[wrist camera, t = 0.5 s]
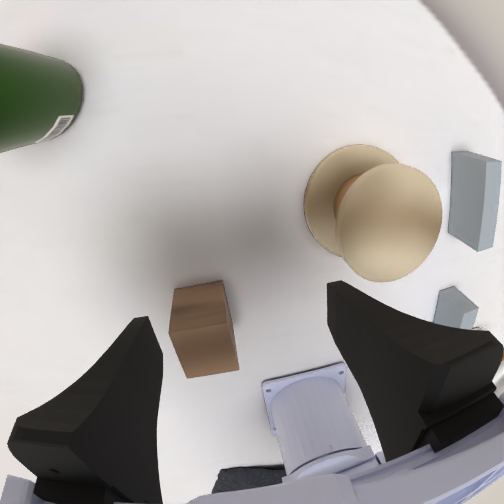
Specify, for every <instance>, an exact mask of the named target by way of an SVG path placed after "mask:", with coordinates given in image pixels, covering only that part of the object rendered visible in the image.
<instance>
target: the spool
mask: <svg viewBox="0 0 504 504" xmlns="http://www.w3.org/2000/svg"><path fill="white" fill-rule="evenodd" d="M304 212H305V218H306V221H307V225H308V227H309V229H310V231H311V233H312V234H313V236H314V237H315V238H316V239H317V241H318V242H319V243H320V244H321V245H322V246H323V247H324V248H325V249H326V250H328V251H329V252H331V253H333V254H335V255H337V256H340V257H343V259H344V260H345V261H346V263H347V264H348V265H349V266H350V267H351V269H352V270H353V271H354V272H355V273H357V274H358V275H359V276H361V277H362V278H364V279H367V280H369V281H373V282H390V281H394V280H397V279H400V278H402V277H404V276H406V275H408V274H409V273H411V272H412V271H414V270H415V269H416V268H417V267H418V266H420V265H421V264H422V263H423V261H424V260H425V259H426V258H427V256H428V255H429V254H430V252H431V251H432V249H433V247H434V245H435V243H436V241H437V238H438V235H439V232H440V228H441V223H442V204H441V199H440V196H439V193H438V190H437V188H436V186H435V185H434V183H433V182H432V180H431V179H430V178H429V177H428V176H427V175H426V174H424V173H423V172H422V171H420V170H418V169H416V168H413V167H410V166H407V165H404V164H400V163H399V162H398V161H397V160H396V159H395V158H394V157H393V156H392V155H390V154H389V153H387V152H386V151H384V150H381V149H379V148H375V147H372V146H368V145H351V146H346V147H343V148H340V149H338V150H336V151H334V152H333V153H331V154H330V155H328V156H327V157H326V158H325V159H324V160H323V161H322V162H321V163H320V164H319V165H318V166H317V168H316V169H315V170H314V172H313V174H312V176H311V178H310V179H309V182H308V185H307V188H306V192H305V198H304Z"/></svg>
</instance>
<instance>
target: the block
mask: <svg viewBox="0 0 504 504" xmlns="http://www.w3.org/2000/svg"><path fill="white" fill-rule="evenodd" d="M169 336H170V338H171V341H172V343H173V346H174V348H175V351H176V353H177V356H178V358H179V361H180V363H181V365H182V368H183V370H184V373H185V375H186V377H187V378H194V377H200V376H207V375H213V374H219V373H225V372H231V371H236V370H239V364H238V358H237V351H236V344H235V337H234V331H233V324H232V320H231V315H230V311H229V307H228V303H227V298H226V294H225V290H224V285H223V281H222V280H221V281H216V282H211V283H206V284H200V285H195V286H190V287H184V288H179V289H174V295H173V302H172V310H171V317H170V325H169Z"/></svg>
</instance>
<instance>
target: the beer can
mask: <svg viewBox="0 0 504 504" xmlns="http://www.w3.org/2000/svg"><path fill="white" fill-rule="evenodd" d="M81 97H82V86H81V82H80V79H79V75H78V74H77V72H76V71H75V69H74V68H73V67H72V66H71V65H70V64H68V63H66V62H64V61H63V60H59V59H56V58H53V57H49V56H46V55H42V54H39V53H35V52H31V51H27V50H24V49H20V48H16V47H12V46H7V45H3V44H0V153H2V152H5V151H9V150H12V149H16V148H19V147H23V146H27V145H31V144H35V143H39V142H43V141H47V140H51V139H53V138H55V137H57V136H59V135H60V134H62V133H63V132H64V131H65V130H66V129H67V128H68V127H69V126H70V125H71V123H72V122H73V120H74V118H75V116H76V115H77V113H78V110H79V107H80V103H81Z"/></svg>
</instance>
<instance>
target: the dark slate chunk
mask: <svg viewBox="0 0 504 504" xmlns="http://www.w3.org/2000/svg"><path fill="white" fill-rule="evenodd" d="M285 476H287V474H286V470H284V469H279V470H269V469H263V468H260V469H257V468H242V467H238V468H229V469H222V470H220V473H219V474H218V480H217V481H216V483H215V486H214V487H213V489H212V494H214V493H221V492H230V491H239V490H246V489H253V488H259V487H265V486H271V485H276V484H281V483H283V481H282V477H285Z"/></svg>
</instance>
